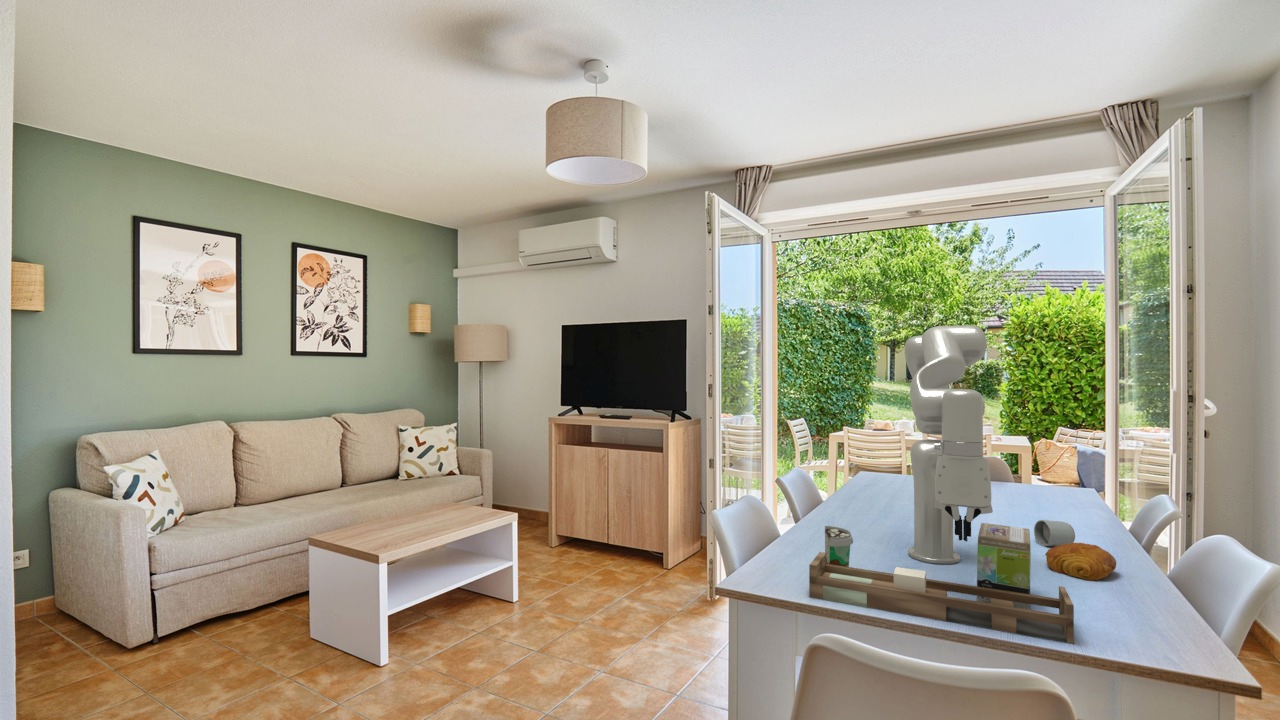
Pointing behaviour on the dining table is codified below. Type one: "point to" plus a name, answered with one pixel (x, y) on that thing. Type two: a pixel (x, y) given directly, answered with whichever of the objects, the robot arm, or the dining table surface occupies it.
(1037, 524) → the ceramic mug
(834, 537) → the food container
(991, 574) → the tea box
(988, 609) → the wooden rack
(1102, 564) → the swirled bread bun
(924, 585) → the block
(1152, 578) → the dining table surface
